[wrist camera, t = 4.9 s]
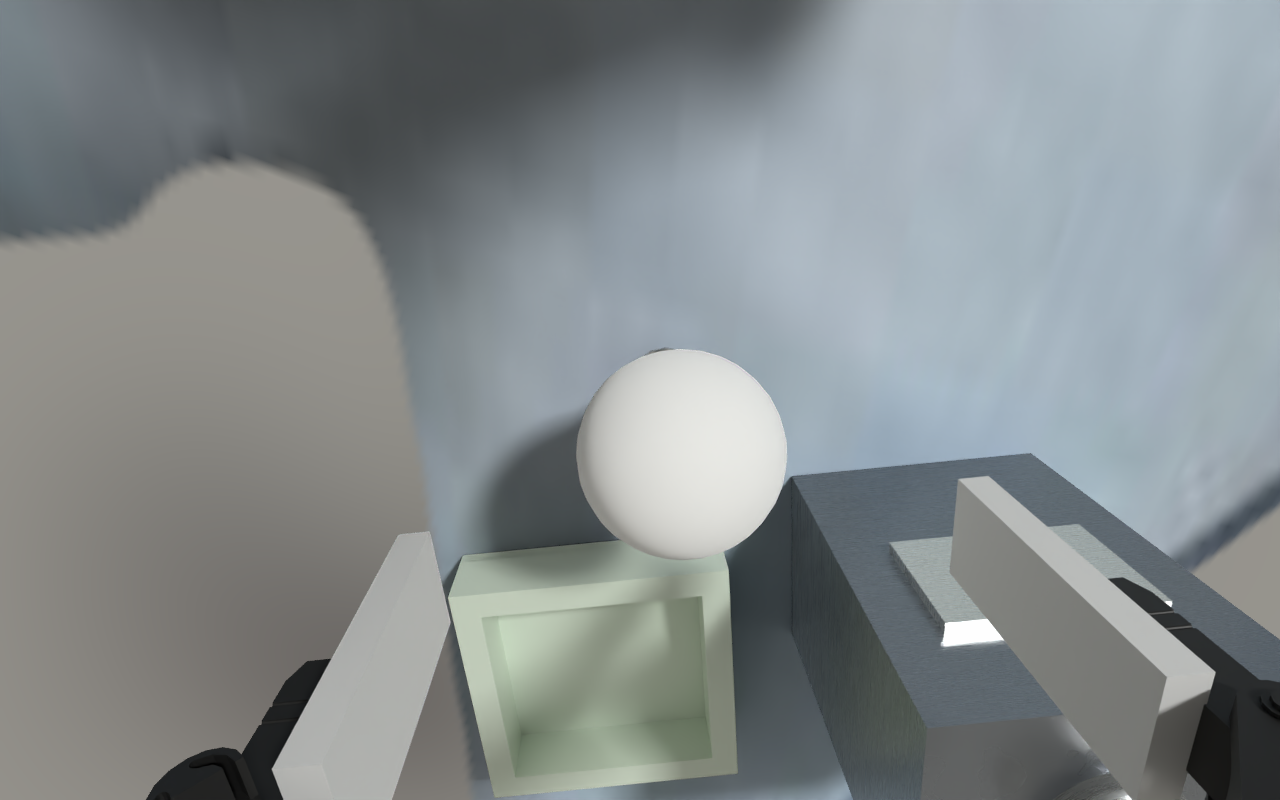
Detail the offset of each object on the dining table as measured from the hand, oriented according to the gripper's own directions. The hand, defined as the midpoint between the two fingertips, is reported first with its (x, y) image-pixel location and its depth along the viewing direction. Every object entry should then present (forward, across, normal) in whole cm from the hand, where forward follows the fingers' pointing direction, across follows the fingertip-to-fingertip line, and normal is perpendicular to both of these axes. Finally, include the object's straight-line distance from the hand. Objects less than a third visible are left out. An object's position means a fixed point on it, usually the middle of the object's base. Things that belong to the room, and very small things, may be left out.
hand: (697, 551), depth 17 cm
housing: (+13, +11, -10) cm, 19 cm away
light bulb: (+13, 0, 0) cm, 13 cm away
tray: (+13, -4, -14) cm, 19 cm away
